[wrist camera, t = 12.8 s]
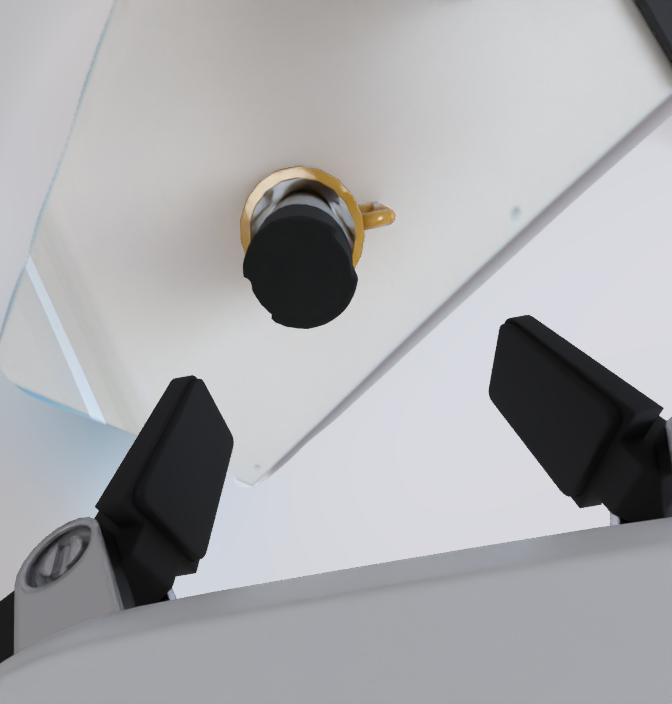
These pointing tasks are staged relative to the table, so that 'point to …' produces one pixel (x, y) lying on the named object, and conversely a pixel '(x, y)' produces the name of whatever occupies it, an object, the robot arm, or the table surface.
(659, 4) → the phone
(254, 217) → the mug
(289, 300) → the spray can
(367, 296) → the table surface
